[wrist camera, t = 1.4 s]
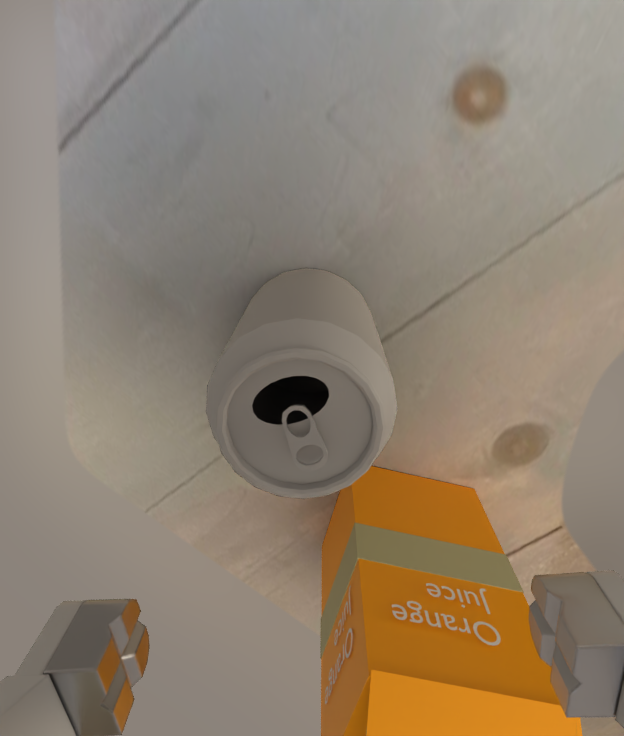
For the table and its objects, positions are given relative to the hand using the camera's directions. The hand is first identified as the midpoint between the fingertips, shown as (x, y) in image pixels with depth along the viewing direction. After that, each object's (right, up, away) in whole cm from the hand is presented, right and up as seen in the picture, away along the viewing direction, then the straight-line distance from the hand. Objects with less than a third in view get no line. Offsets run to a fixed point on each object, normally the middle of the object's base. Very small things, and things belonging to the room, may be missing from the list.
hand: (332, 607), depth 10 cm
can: (-1, +7, +19) cm, 20 cm away
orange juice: (+5, -5, +24) cm, 25 cm away
